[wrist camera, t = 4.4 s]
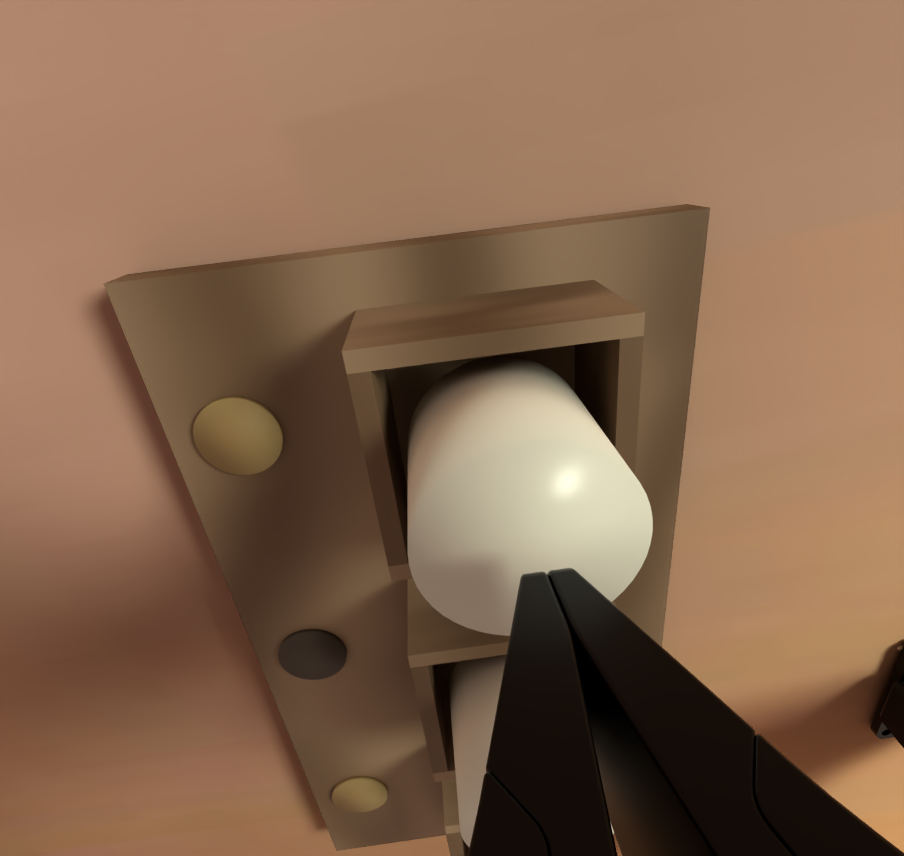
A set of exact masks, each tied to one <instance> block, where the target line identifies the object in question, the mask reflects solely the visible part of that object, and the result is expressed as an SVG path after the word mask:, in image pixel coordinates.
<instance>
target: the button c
mask: <svg viewBox="0 0 904 856" xmlns="http://www.w3.org/2000/svg"><path fill="white" fill-rule="evenodd" d="M652 532H653V518H652V512H651V506H650V503H649V500H648V497H647V494H646V492H645V491H644V489H643V487H642V485H641V484H640V482H639V481H638V479H637V478H636V476H635V475H634V474H633V472H632V471H631V469H630V468H629V467H628V465H627V464H626V463H625V461H624V460H623V458H622V457H621V456H620V454H619V453H618V452H617V450H616V449H615V447H614V446H613V445H612V443H611V442H610V440H609V439H608V438H607V436H606V435H605V434H604V432H603V431H602V429H601V428H600V427H599V425H598V424H597V423H596V421H595V420H594V418H593V417H592V416H591V414H590V413H589V411H588V410H587V409H586V407H585V406H584V405H583V403H582V402H581V400H580V399H579V398H578V396H577V395H576V394H575V392H574V391H573V390H572V388H571V387H570V386H569V384H568V383H567V382H566V381H565V380H564V379H563V378H562V377H561V376H559V375H558V374H557V373H555V372H554V371H552V370H551V369H550V368H548V367H546V366H544V365H542V364H540V363H537V362H534V361H531V360H528V359H523V358H518V357H506V356H501V357H489V358H484V359H478V360H475V361H472V362H469V363H466V364H464V365H462V366H460V367H457V368H455V369H453V370H452V371H450V372H449V373H447V374H446V375H444V376H443V377H442V378H440V379H439V380H438V381H437V382H435V383H434V384H433V385H432V386H431V387H430V389H429V390H428V391H427V392H426V393H425V394H424V396H423V397H422V399H421V400H420V401H419V403H418V405H417V407H416V409H415V411H414V413H413V416H412V419H411V422H410V426H409V431H408V561H409V567H410V570H411V574H412V577H413V579H414V582H415V584H416V586H417V588H418V589H419V591H420V592H421V594H422V595H423V597H424V598H425V599H426V600H427V601H428V602H429V603H430V605H431V606H432V607H433V608H435V609H436V610H437V611H438V612H440V613H441V614H442V615H443V616H445V617H447V618H448V619H450V620H452V621H453V622H455V623H457V624H460V625H462V626H464V627H466V628H469V629H473V630H476V631H479V632H484V633H489V634H494V635H504V636H510V633H511V628H512V622H513V617H514V611H515V606H516V600H517V595H518V589H519V584H520V578H521V576H522V575H523V574H527V573H535V572H545V573H546V574H548V572H549V571H551V570H557V569H564V568H572V569H574V570H576V571H577V572H578V573H579V574H580V575H581V576H583V577H584V578H585V579H586V580H587V581H588V582H589V583H590V584H592V585H593V586H594V587H595V588H596V589H597V590H598V591H599V592H601V593H602V594H603V595H604V596H605V597H606V598H607V599H608V600H610V601H611V602H612V601H613V600H615V599H616V598H617V597H618V596H619V595H620V594H621V593H622V592H623V591H624V590H625V589H626V588H627V587H628V585H629V584H630V583H631V582H632V581H633V579H634V578H635V576H636V575H637V573H638V572H639V570H640V569H641V567H642V565H643V563H644V561H645V559H646V557H647V554H648V550H649V547H650V544H651V538H652Z"/></svg>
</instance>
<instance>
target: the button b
mask: <svg viewBox="0 0 904 856" xmlns="http://www.w3.org/2000/svg"><path fill="white" fill-rule="evenodd" d="M505 660H506V655H500V656H493V657H485V658H478V659H471V660H464V661H459V662H458V663H457V665H456V666H455V667H454V669H453V671H452V673H451V676H450V679H449V696H450V709H451V722H452V735H453V747H454V760H455V773H456V786H457V798H458V811H459V824H460V833H461V836H462V838H463V840H464V842H465V843H466V844H467V845H468V846H469V847H470V843H471V838H472V834H473V829H474V824H475V820H476V815H477V810H478V806H479V801H480V795H481V790H482V784H483V779H484V775H485V774H486V764H487V759H488V753H489V748H490V742H491V737H492V731H493V726H494V720H495V715H496V710H497V704H498V699H499V693H500V688H501V682H502V677H503V671H504V666H505ZM611 827H612V825H611ZM612 832H613V834H614V831H613V828H612Z"/></svg>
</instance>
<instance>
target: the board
mask: <svg viewBox="0 0 904 856" xmlns="http://www.w3.org/2000/svg"><path fill="white" fill-rule="evenodd" d="M709 212H710V208H708V207H701V206H695V205H688V204H685V205H677V206H669V207H661V208H653V209H646V210H638V211H630V212H622V213H614V214H606V215H598V216H590V217H582V218H574V219H566V220H558V221H550V222H542V223H534V224H526V225H518V226H510V227H502V228H494V229H486V230H478V231H470V232H462V233H454V234H446V235H438V236H430V237H422V238H414V239H406V240H398V241H390V242H382V243H374V244H366V245H358V246H350V247H342V248H334V249H326V250H318V251H310V252H302V253H294V254H287V255H279V256H271V257H263V258H255V259H247V260H239V261H231V262H223V263H215V264H207V265H199V266H191V267H183V268H175V269H167V270H159V271H151V272H143V273H135V274H127V275H125V276H122V277H120V278H117V279H115V280H112V281H110V282H107V283H105V284H104V286H105V288H106V291H107V293H108V296H109V298H110V301H111V303H112V305H113V308H114V310H115V313H116V315H117V318H118V320H119V322H120V325H121V327H122V330H123V332H124V335H125V337H126V340H127V342H128V344H129V347H130V349H131V352H132V354H133V357H134V359H135V361H136V364H137V366H138V369H139V371H140V374H141V376H142V378H143V381H144V383H145V386H146V388H147V391H148V393H149V396H150V398H151V400H152V403H153V405H154V408H155V410H156V413H157V415H158V417H159V420H160V422H161V425H162V427H163V430H164V432H165V434H166V437H167V439H168V442H169V444H170V447H171V449H172V451H173V454H174V456H175V459H176V461H177V464H178V466H179V469H180V471H181V473H182V476H183V478H184V481H185V483H186V486H187V488H188V490H189V493H190V495H191V498H192V500H193V503H194V505H195V507H196V510H197V512H198V515H199V517H200V520H201V522H202V525H203V527H204V529H205V532H206V534H207V537H208V539H209V542H210V544H211V546H212V549H213V551H214V554H215V556H216V559H217V561H218V563H219V566H220V568H221V571H222V573H223V576H224V578H225V580H226V583H227V585H228V588H229V590H230V593H231V595H232V598H233V600H234V602H235V605H236V607H237V610H238V612H239V615H240V617H241V619H242V622H243V624H244V627H245V629H246V632H247V634H248V636H249V639H250V641H251V644H252V646H253V649H254V651H255V654H256V656H257V658H258V661H259V663H260V666H261V668H262V671H263V673H264V675H265V678H266V680H267V683H268V685H269V688H270V690H271V692H272V695H273V697H274V700H275V702H276V705H277V707H278V709H279V712H280V714H281V717H282V719H283V722H284V724H285V727H286V729H287V731H288V734H289V736H290V739H291V741H292V744H293V746H294V748H295V751H296V753H297V756H298V758H299V761H300V763H301V765H302V768H303V770H304V773H305V775H306V778H307V780H308V783H309V785H310V787H311V790H312V792H313V795H314V797H315V800H316V802H317V804H318V807H319V809H320V812H321V814H322V817H323V819H324V821H325V824H326V826H327V829H328V831H329V834H330V836H331V838H332V841H333V843H334V846H335V848H336V851H338V850H345V849H352V848H359V847H366V846H373V845H380V844H387V843H393V842H400V841H407V840H414V839H421V838H428V837H435V836H441V835H446V836H447V841H448V845H449V850H450V855H451V856H467V855H468V852H469V846H468V845H467V844H466V843H465V842H464V840H463V838H462V836H461V833H460V824H459V811H458V798H457V786H456V773H455V760H454V747H453V735H452V722H451V709H450V696H449V679H450V676H451V673H452V671H453V669H454V667H455V666H456V665H457V663H458V662H459V661H464V660H471V659H478V658H485V657H493V656H500V655H507V649H508V644H509V638H510V636H504V635H494V634H489V633H484V632H479V631H476V630H473V629H469V628H466V627H464V626H462V625H460V624H457V623H455V622H453V621H452V620H450V619H448V618H447V617H445V616H443V615H442V614H441V613H440V612H438V611H437V610H436V609H435V608H433V607H432V606H431V605H430V603H429V602H428V601H427V600H426V599H425V598H424V597H423V595H422V594H421V592H420V591H419V589H418V588H417V586H416V584H415V582H414V579H413V577H412V574H411V570H410V567H409V561H408V431H409V426H410V422H411V419H412V416H413V413H414V411H415V409H416V407H417V405H418V403H419V401H420V400H421V399H422V397H423V396H424V394H425V393H426V392H427V391H428V390H429V389H430V387H431V386H432V385H433V384H434V383H435V382H437V381H438V380H439V379H440V378H442V377H443V376H444V375H446V374H447V373H449V372H450V371H452V370H453V369H455V368H457V367H460V366H462V365H464V364H466V363H469V362H472V361H475V360H478V359H484V358H489V357H501V356H506V357H518V358H523V359H528V360H531V361H534V362H537V363H540V364H542V365H544V366H546V367H548V368H550V369H551V370H552V371H554V372H555V373H557V374H558V375H559V376H561V377H562V378H563V379H564V380H565V381H566V382H567V383H568V384H569V386H570V387H571V388H572V390H573V391H574V392H575V394H576V395H577V396H578V398H579V399H580V400H581V402H582V403H583V405H584V406H585V407H586V409H587V410H588V411H589V413H590V414H591V416H592V417H593V418H594V420H595V421H596V423H597V424H598V425H599V427H600V428H601V429H602V431H603V432H604V434H605V435H606V436H607V438H608V439H609V440H610V442H611V443H612V445H613V446H614V447H615V449H616V450H617V452H618V453H619V454H620V456H621V457H622V458H623V460H624V461H625V463H626V464H627V465H628V467H629V468H630V469H631V471H632V472H633V474H634V475H635V476H636V478H637V479H638V481H639V482H640V484H641V485H642V487H643V489H644V491H645V492H646V494H647V497H648V500H649V503H650V506H651V512H652V518H653V532H652V538H651V544H650V547H649V550H648V554H647V557H646V559H645V561H644V563H643V565H642V567H641V569H640V570H639V572H638V573H637V575H636V576H635V578H634V579H633V581H632V582H631V583H630V584H629V585H628V587H627V588H626V589H625V590H624V591H623V592H622V593H621V594H620V595H619V596H618V597H617V598H616V599H615V600H613V601H612V603H613V604H614V605H615V606H616V607H617V608H618V609H620V610H621V611H622V612H623V613H624V614H625V615H626V616H627V617H629V618H630V619H631V620H632V621H633V622H634V623H635V624H636V625H638V626H639V627H640V628H641V629H642V630H643V631H644V632H645V633H647V634H648V635H649V636H650V637H651V638H652V639H653V640H654V641H656V642H657V643H658V644H659V645H660V646H661V647H662V639H663V630H664V621H665V611H666V602H667V593H668V584H669V575H670V566H671V557H672V548H673V539H674V530H675V521H676V512H677V502H678V493H679V484H680V475H681V466H682V457H683V448H684V439H685V430H686V421H687V412H688V403H689V393H690V384H691V375H692V366H693V357H694V348H695V339H696V330H697V321H698V312H699V303H700V294H701V285H702V275H703V266H704V257H705V248H706V239H707V230H708V221H709Z"/></svg>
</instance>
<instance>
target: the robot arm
mask: <svg viewBox="0 0 904 856" xmlns="http://www.w3.org/2000/svg"><path fill="white" fill-rule="evenodd" d="M870 728H871V730H872V731H873V732H874V733H875V735H876V736H877V737H878V738H880V739H885V738H891V737H895V738H896V739H897V741H898V742H899V743H900V744H901V745H902V746H903V748H904V648H903V649H902V652H901V654H900V657H899V659H898V661H897V664H896V666H895V669H894V671H893V673H892V676H891V678H890V681H889V683H888V685H887V688H886V690H885V693H884V695H883V697H882V700H881V702H880V704H879V707H878V709H877V712H876V714H875V716H874V719H873V721H872V724H871V726H870ZM611 825H612V827H611ZM612 828H613V831H614V833H615V836H616V839H617V842H618V844H619V847H620V850H621V853H622V856H904V853H903V852H902V851H900V850H899V849H898V848H896V847H895V846H894V845H893V844H891V843H890V842H889V841H887V840H886V839H885V838H883V837H882V836H881V835H880V834H878V833H877V832H876V831H875V830H873V829H872V828H871V827H870V826H868V825H867V824H866V823H865V822H863V821H862V820H861V819H859V818H858V817H857V816H856V815H854V814H853V813H852V812H851V811H849V810H848V809H847V808H846V807H844V806H843V805H842V804H841V803H839V802H838V801H837V800H835V799H834V798H833V797H832V796H830V795H829V794H828V793H827V792H826V791H825V790H823V789H822V788H821V787H820V786H819V785H818V784H816V783H815V782H814V781H813V780H812V779H811V778H809V777H808V776H807V775H806V774H805V773H804V772H802V771H801V770H800V769H799V768H798V767H797V766H795V765H794V764H793V763H792V762H791V761H790V760H788V759H787V758H786V757H785V756H784V755H783V754H782V753H780V752H779V751H778V750H777V749H776V748H775V747H774V746H773V745H771V744H770V743H769V742H768V741H767V740H766V739H765V738H764V737H763V736H761V735H759V734H757V735H755V730H754V729H753V728H752V727H751V726H750V725H749V724H748V723H746V722H745V721H744V720H743V719H742V718H741V717H740V716H739V715H738V714H736V713H735V712H734V711H733V710H732V709H731V708H730V707H729V706H727V705H726V704H725V703H724V702H723V701H722V700H721V699H720V698H718V697H717V696H716V695H715V694H714V693H713V692H712V691H711V690H709V689H708V688H707V687H706V686H705V685H704V684H703V683H702V682H700V681H699V680H698V679H697V678H696V677H695V676H694V675H693V674H691V673H690V672H689V671H688V670H687V669H686V668H685V667H684V666H682V665H681V664H680V663H679V662H678V661H677V660H676V659H675V658H674V657H672V656H671V655H670V654H669V653H668V652H667V651H666V650H665V649H663V648H662V647H661V646H660V645H659V644H658V643H657V642H656V641H654V640H653V639H652V638H651V637H650V636H649V635H648V634H647V633H645V632H644V631H643V630H642V629H641V628H640V627H639V626H638V625H636V624H635V623H634V622H633V621H632V620H631V619H630V618H629V617H627V616H626V615H625V614H624V613H623V612H622V611H621V610H620V609H618V608H617V607H616V606H615V605H614V604H613V603H612V602H611V601H610V600H608V599H607V598H606V597H605V596H604V595H603V594H602V593H601V592H599V591H598V590H597V589H596V588H595V587H594V586H593V585H592V584H590V583H589V582H588V581H587V580H586V579H585V578H584V577H583V576H581V575H580V574H579V573H578V572H577V571H576V570H574V569H572V568H564V569H557V570H551V571H549V572H548V574H546V573H545V572H535V573H527V574H523V575H522V576H521V578H520V584H519V589H518V595H517V600H516V606H515V611H514V617H513V622H512V628H511V633H510V638H509V644H508V649H507V655H506V660H505V666H504V671H503V677H502V682H501V688H500V693H499V699H498V704H497V710H496V715H495V720H494V726H493V731H492V737H491V742H490V748H489V753H488V759H487V764H486V774H485V775H484V779H483V784H482V790H481V795H480V801H479V806H478V810H477V815H476V820H475V824H474V829H473V834H472V838H471V843H470V847H469V852H468V855H467V856H617V852H616V847H615V842H614V837H613V832H612Z"/></svg>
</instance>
